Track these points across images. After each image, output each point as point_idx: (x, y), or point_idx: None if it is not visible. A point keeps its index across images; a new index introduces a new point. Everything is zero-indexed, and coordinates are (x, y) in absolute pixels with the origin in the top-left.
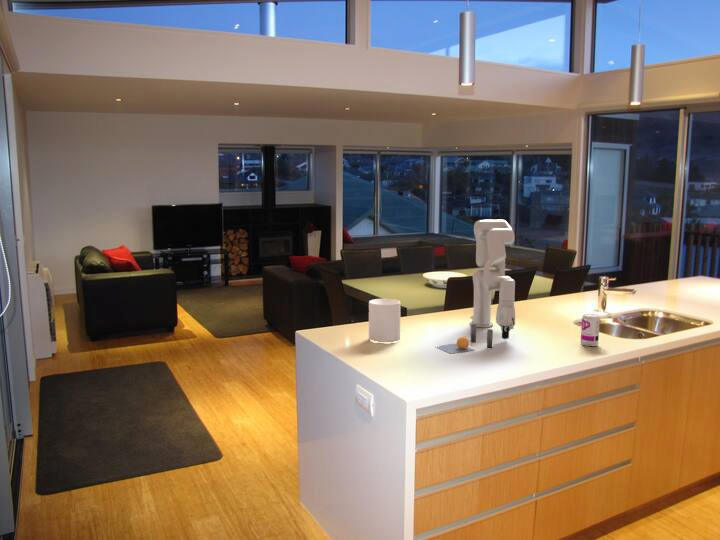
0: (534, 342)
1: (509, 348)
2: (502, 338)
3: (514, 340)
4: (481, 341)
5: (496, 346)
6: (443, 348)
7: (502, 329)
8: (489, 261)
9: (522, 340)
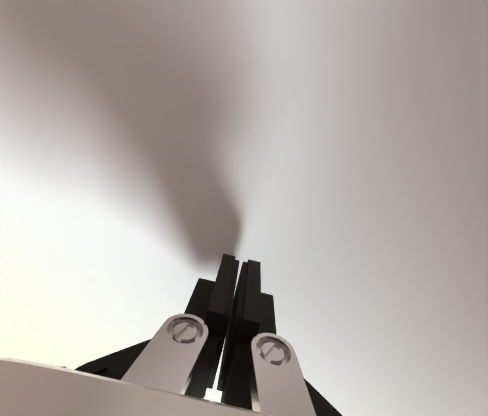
0: None
1: (7, 69)
2: (250, 260)
3: None
4: (427, 54)
5: (148, 10)
6: None
7: (262, 351)
8: None
9: None
